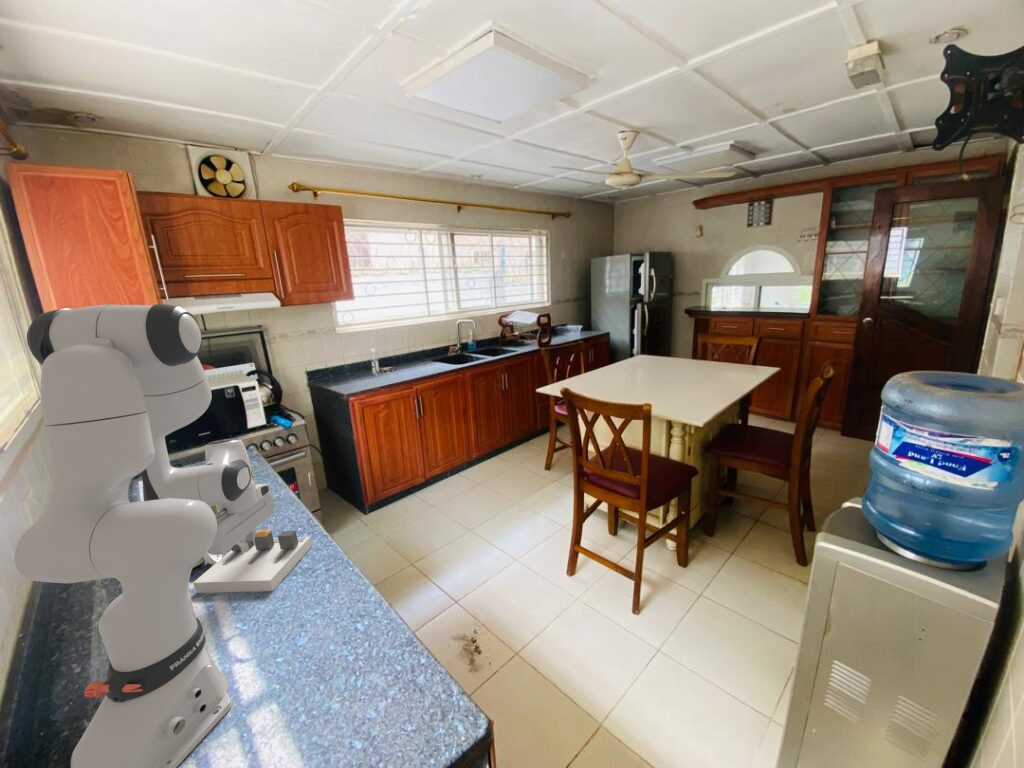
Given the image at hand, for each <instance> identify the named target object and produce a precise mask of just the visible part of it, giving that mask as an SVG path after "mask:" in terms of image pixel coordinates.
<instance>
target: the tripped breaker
mask: <svg viewBox="0 0 1024 768" xmlns="http://www.w3.org/2000/svg"><path fill="white" fill-rule="evenodd" d="M273 538H274V537H273V532H272V529H262V530H261V529H259V530H256V535H255V539H254V541H255V546H256V550H269V549H270V548H271V547H272V546H273V545H274V540H273Z"/></svg>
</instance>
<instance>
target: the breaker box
mask: <svg viewBox="0 0 1024 768" xmlns="http://www.w3.org/2000/svg"><path fill="white" fill-rule="evenodd" d="M297 539H298V545H297V546H296V547H295V548H294V549H281V548H280V544H279V540H278V537H273V540H274V545H273V546H272V547H271V548H270V549H269V550H256V546H253V547H252V548H251V549H250V550H249V551H248V552H242V551H232V549H230V550H229V551H228V552H226V553H225V555H224V556H222V558H221V559H220V560H219V561H218V562H217V563H216V564H214V565H212V566H211V567H210V568H209V569H207V570H206V571H205V572H204V573H203V574H201V575H200V576H199V577H198V578H197V579H196V580H194V581H193V582H192V583H193V587H194V591H195V594H208V593H209V594H213V593H215V594H217V593H218V594H219V593H250V592H253V593H255V592H273V591H275V589H276V588H277V587H278V586H279V585H280V583H281V582H282V581H283V580H284V579H285V578H286V576H287V575H288V574H290V572H291V571H292V570H293V569H294V568H295V567H296V565H297V564H298V563H299V562H300V561H301V559H302V558H303V557H304V556H305V555H306V554H307V553H308V552H309V550H311V548H313V543H312V542H313V541H312V538H311V536H297ZM310 547H311V548H310ZM306 552H307V553H306ZM299 560H300V561H299Z"/></svg>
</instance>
